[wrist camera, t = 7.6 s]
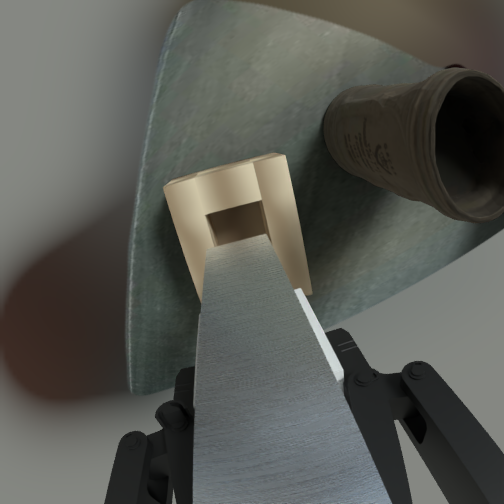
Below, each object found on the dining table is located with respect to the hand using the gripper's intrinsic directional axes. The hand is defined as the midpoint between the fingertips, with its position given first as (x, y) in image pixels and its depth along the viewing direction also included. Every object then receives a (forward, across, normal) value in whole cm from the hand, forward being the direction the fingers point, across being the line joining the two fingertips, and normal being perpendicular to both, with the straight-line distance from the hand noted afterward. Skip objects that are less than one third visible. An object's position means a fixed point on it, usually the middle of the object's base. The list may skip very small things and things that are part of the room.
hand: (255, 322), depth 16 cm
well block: (+19, 0, 0) cm, 19 cm away
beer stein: (+19, -18, -8) cm, 28 cm away
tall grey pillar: (+5, 0, 0) cm, 5 cm away
